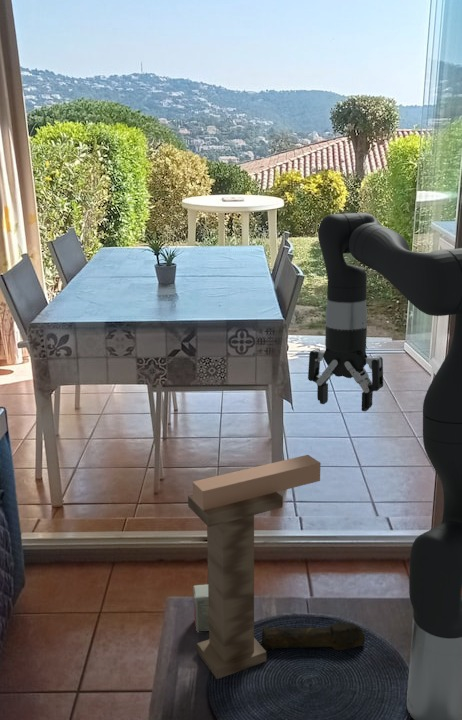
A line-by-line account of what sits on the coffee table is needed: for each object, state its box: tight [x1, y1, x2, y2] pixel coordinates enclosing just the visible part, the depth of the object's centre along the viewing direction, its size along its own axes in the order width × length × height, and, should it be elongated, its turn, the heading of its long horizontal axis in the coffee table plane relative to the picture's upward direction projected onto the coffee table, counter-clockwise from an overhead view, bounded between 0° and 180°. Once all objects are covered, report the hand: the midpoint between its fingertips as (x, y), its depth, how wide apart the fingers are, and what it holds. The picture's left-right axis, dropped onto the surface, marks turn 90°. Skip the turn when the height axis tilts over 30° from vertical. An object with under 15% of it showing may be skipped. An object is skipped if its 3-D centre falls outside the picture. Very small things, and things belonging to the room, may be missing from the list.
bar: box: [191, 454, 322, 511], centre depth 126 cm, size 23×4×4 cm, turn 118°
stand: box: [187, 492, 284, 680], centre depth 129 cm, size 14×8×32 cm, turn 118°
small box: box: [193, 583, 209, 632], centre depth 141 cm, size 5×4×8 cm
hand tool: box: [261, 622, 366, 651], centre depth 135 cm, size 19×4×5 cm, turn 88°
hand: (344, 406), depth 139 cm, fingers open, 8 cm apart
